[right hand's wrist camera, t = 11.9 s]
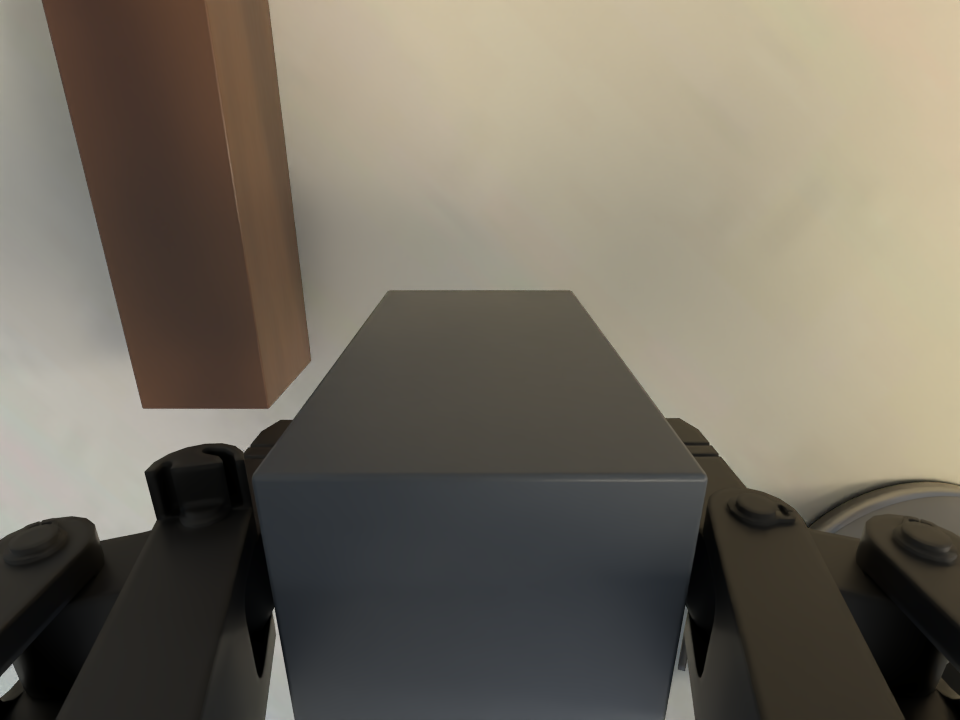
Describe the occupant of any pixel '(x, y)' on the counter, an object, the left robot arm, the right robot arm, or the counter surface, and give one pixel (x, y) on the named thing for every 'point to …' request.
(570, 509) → the grey block
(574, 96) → the counter surface
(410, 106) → the counter surface
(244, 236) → the walnut rail
